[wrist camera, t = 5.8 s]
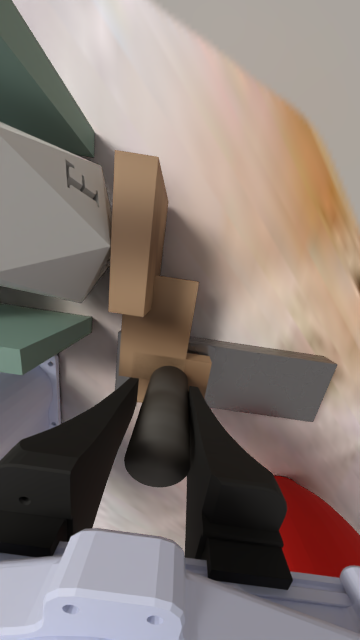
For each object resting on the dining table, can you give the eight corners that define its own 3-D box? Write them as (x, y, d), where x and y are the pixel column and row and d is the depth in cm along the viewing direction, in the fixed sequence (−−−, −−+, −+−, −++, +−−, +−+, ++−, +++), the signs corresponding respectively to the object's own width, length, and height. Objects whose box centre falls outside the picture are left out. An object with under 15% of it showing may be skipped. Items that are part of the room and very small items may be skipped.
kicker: (198, 390, 17) (213, 505, 8) (127, 380, 17) (70, 486, 8) (235, 212, 13) (329, 95, 4) (141, 197, 13) (59, 50, 4)
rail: (302, 409, 17) (312, 421, 16) (120, 383, 17) (114, 393, 16) (323, 356, 16) (337, 364, 14) (124, 327, 16) (118, 332, 14)
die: (124, 310, 15) (136, 241, 7) (-2, 319, 12) (-311, 213, 3) (114, 228, 17) (112, 82, 8) (-2, 218, 14) (-221, -45, 5)
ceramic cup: (193, 443, 19) (203, 618, 9) (345, 461, 19) (511, 654, 9) (179, 520, 22) (175, 710, 13) (308, 536, 22) (403, 735, 13)
